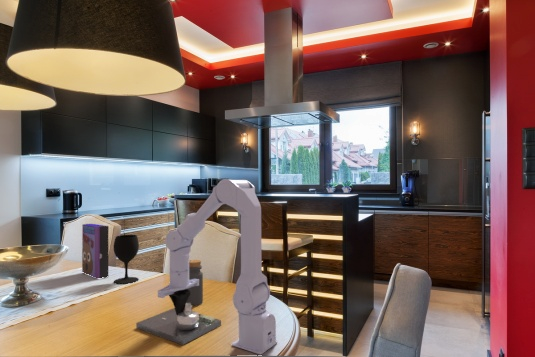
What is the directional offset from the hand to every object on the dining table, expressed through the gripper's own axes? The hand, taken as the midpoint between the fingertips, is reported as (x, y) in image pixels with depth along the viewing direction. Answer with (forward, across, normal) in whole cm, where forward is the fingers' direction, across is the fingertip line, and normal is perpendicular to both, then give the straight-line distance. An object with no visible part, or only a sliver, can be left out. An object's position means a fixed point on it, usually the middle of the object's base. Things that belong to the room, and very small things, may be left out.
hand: (179, 315), depth 101 cm
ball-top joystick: (+1, -1, +3) cm, 3 cm away
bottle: (+3, -16, -10) cm, 20 cm away
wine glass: (+3, -20, -58) cm, 61 cm away
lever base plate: (+3, +1, 0) cm, 3 cm away
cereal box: (+3, -18, -80) cm, 82 cm away
